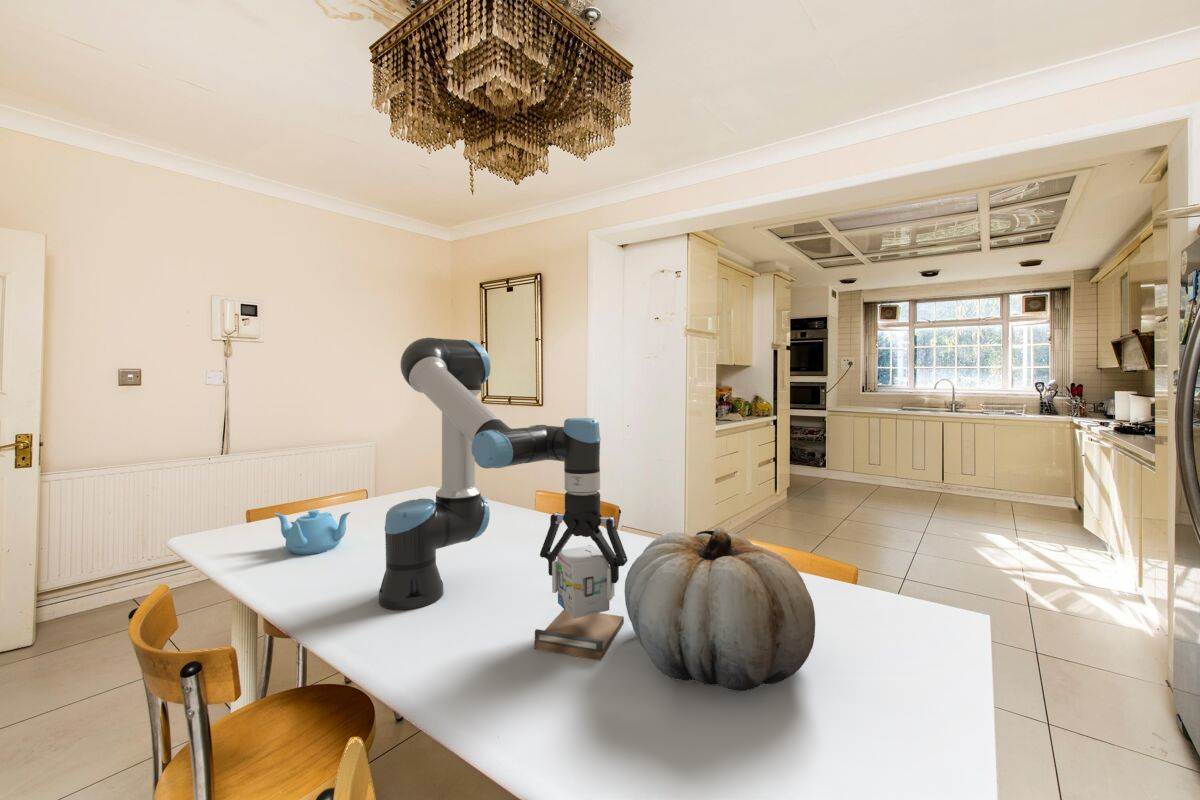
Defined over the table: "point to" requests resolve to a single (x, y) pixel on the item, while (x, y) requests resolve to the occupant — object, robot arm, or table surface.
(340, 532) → the teapot
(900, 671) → the table surface
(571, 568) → the ink box
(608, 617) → the brown flat block
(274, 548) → the table surface
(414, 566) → the robot arm
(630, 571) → the pumpkin
